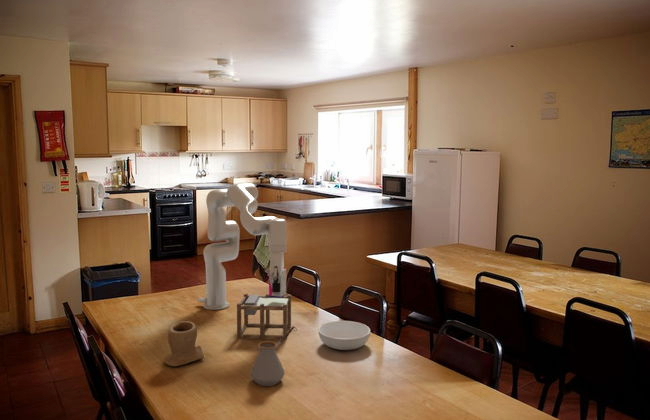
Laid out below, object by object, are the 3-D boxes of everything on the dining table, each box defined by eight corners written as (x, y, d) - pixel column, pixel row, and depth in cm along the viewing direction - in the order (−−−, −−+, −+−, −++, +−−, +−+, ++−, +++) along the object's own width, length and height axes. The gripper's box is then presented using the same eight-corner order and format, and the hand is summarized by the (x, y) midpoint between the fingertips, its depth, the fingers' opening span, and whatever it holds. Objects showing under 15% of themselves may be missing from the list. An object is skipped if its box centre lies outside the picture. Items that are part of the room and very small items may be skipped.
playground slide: (244, 315, 220) (244, 302, 220) (250, 306, 233) (250, 294, 232) (285, 316, 220) (285, 303, 219) (288, 306, 232) (288, 295, 232)
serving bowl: (309, 351, 207) (309, 333, 206) (329, 333, 226) (329, 318, 226) (360, 359, 199) (360, 341, 199) (376, 340, 219) (376, 324, 218)
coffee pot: (270, 391, 172) (269, 347, 171) (243, 383, 179) (242, 340, 177) (307, 369, 190) (308, 328, 188) (282, 361, 196) (282, 322, 194)
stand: (237, 338, 220) (236, 304, 218) (244, 325, 236) (244, 293, 234) (286, 339, 219) (286, 305, 217) (291, 326, 235) (291, 294, 233)
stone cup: (173, 372, 187) (172, 331, 185) (159, 361, 196) (158, 322, 194) (212, 361, 196) (211, 322, 194) (197, 352, 205) (196, 314, 203)
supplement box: (286, 294, 227) (286, 268, 226) (281, 298, 222) (281, 271, 220) (274, 293, 229) (274, 267, 228) (268, 296, 224) (268, 270, 222)
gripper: (271, 244, 232) (271, 284, 234) (265, 252, 214) (265, 295, 217) (288, 244, 231) (288, 284, 234) (283, 252, 214) (283, 295, 216)
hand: (277, 289), depth 225 cm, fingers closed on supplement box, 6 cm apart
